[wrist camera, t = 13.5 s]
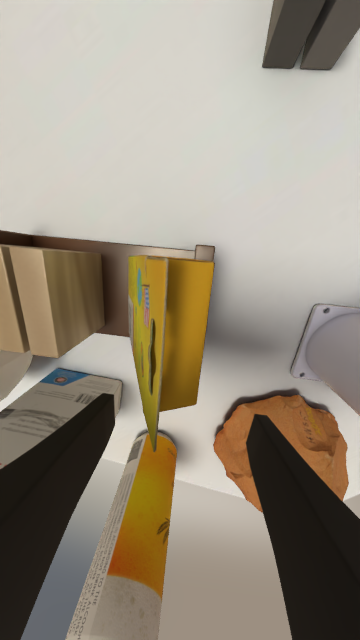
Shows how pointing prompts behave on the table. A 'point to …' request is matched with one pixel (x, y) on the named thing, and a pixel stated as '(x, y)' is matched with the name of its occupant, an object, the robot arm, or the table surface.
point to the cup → (12, 370)
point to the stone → (298, 428)
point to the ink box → (49, 409)
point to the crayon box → (168, 330)
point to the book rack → (67, 290)
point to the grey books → (310, 32)
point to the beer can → (131, 551)
